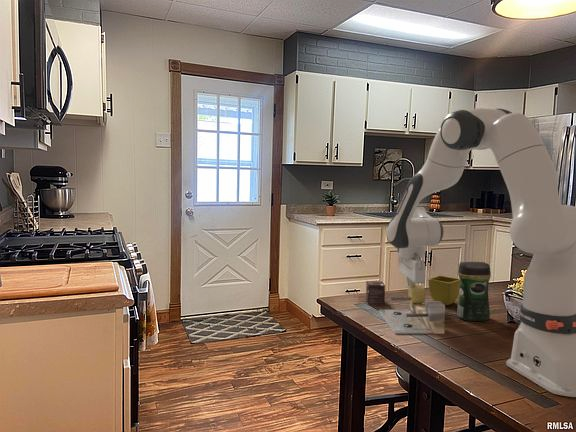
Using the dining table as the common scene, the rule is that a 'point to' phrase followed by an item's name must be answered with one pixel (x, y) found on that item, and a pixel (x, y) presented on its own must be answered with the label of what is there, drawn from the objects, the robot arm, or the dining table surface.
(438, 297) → the flower pot
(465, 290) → the coffee jar
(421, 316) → the beam
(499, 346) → the dining table surface
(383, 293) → the box
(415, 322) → the hole plate
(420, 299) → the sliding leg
